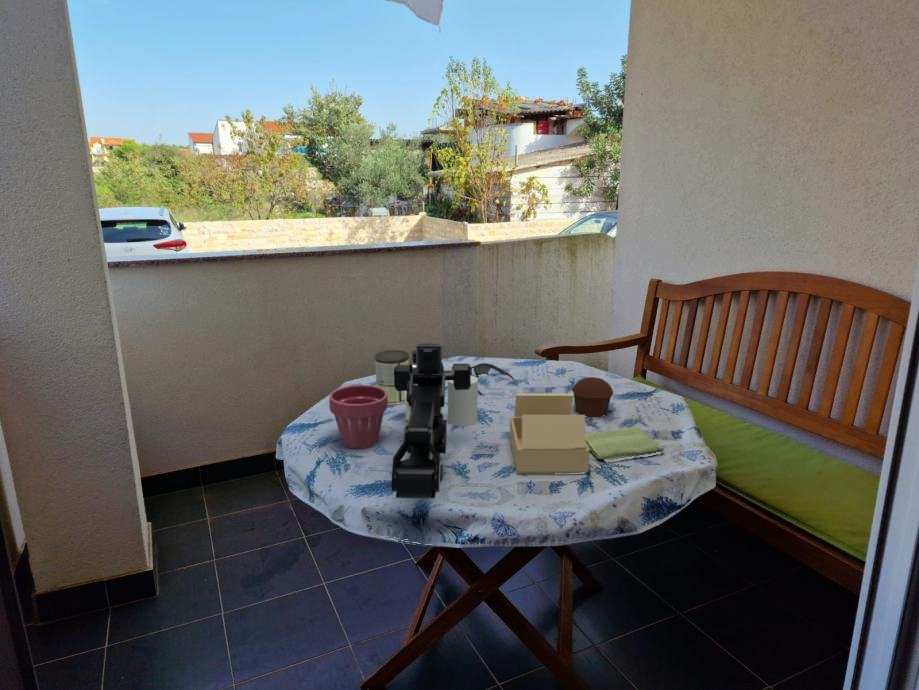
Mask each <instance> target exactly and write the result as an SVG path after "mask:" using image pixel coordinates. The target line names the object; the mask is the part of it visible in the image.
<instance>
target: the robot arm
mask: <svg viewBox="0 0 919 690" xmlns="http://www.w3.org/2000/svg"><path fill="white" fill-rule="evenodd" d="M442 347H443V346H442V344H439V343H431V342H430V343H426V342H425V343H419V344H416V346H415V349H416V350H412V353H411V361H412V363H413V364H416V365H417V367H415V368H413V366H412V365H413V364H409V365H396V367H395V368H394V386H395V389H396V390H397V391H407V397H406V400H407V402H408V404H409V407H411V414H412V415H411V419H410V420H409V423H407V424H406V426H405V427H404V435H403V436H404V437H403V442H402V444H401V445H400V447H398V450H397V451H396V452H395V455H393V458H392V470H391V482H390V483H391V484H390V485H391V486H390V487H391V492H396V493H395V497H396V499H426V500H427V499H430V500H431V499H435V498H436V493H440V490H441V481H443V467H444V465H442V464H441V460H442V459H441V458H442V457H441V454H444V455H445V454H447V448H448V447H447V446H448V445H447V441H448V439H447V437H448V419H444V417H445V416H444V414H443V412H442V408H445V402H446V401H445V399H446V381H448V380H453V384H454V387H455V390H469V389H470V387H471V377H470V367H471V365H470V364H469V363H453V365H452V366H451V370H449V369H448V370H445V368H444V367H445V366H444V363H443V362H442V361H443V359H442V358H443V349H442ZM406 453H407V454H409V457H408V458H405V459H403V458H404V456H405V454H406Z"/></svg>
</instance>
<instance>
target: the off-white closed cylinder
mask: <svg viewBox="0 0 919 690" xmlns="http://www.w3.org/2000/svg"><path fill="white" fill-rule="evenodd" d="M470 377H471V387H470V389H469V390H455V387H454V384H453V380H447V423H449V424H450V425H452V426H455V427H469V426H474V425H475V424H476V423H477V422H478V395H479V393H478V391H479V389H478V388H479V385H478V384H479V383H478V382H479V380H478V377H477V376H474V375H472V376H471V375H470Z"/></svg>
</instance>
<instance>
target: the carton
mask: <svg viewBox="0 0 919 690" xmlns="http://www.w3.org/2000/svg"><path fill="white" fill-rule="evenodd" d="M509 418H510V420H509V442H510V447H511V452H512V457H513V462H514V467H515V472H516V475H556V474H555V473H558V474H557V475H560V474H559V473H580V472H581V473H582V472H588V473H589V466H590V465H589V462H590V452H591V451H590V450H589V448H588V446H587V444H586V442H585V448H522V417H509Z"/></svg>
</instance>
